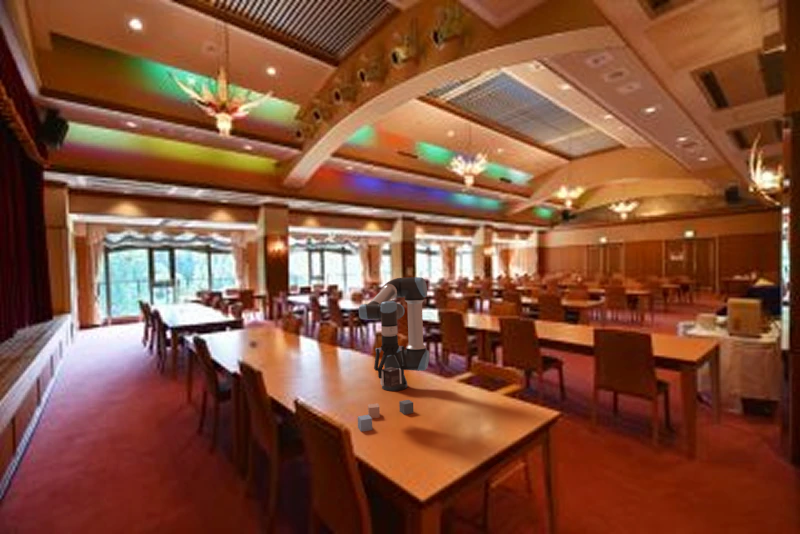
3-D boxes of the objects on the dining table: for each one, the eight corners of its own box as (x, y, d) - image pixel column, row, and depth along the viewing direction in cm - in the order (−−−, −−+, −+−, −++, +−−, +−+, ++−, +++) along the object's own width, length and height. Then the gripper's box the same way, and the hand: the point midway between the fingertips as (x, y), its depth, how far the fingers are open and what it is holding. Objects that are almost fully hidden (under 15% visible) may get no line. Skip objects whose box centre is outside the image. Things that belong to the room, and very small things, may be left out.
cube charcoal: (399, 411, 185) (399, 401, 185) (408, 409, 187) (408, 399, 188) (404, 414, 181) (404, 404, 181) (413, 412, 183) (413, 402, 183)
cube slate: (357, 427, 167) (357, 416, 167) (368, 425, 169) (368, 414, 169) (361, 432, 163) (360, 420, 163) (372, 429, 164) (371, 418, 165)
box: (391, 382, 180) (391, 366, 181) (400, 384, 176) (399, 368, 176) (381, 385, 176) (381, 369, 176) (390, 387, 172) (390, 371, 172)
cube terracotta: (368, 414, 182) (367, 404, 182) (378, 413, 183) (378, 403, 183) (369, 418, 177) (368, 407, 178) (379, 417, 178) (379, 406, 178)
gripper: (369, 337, 170) (371, 389, 169) (413, 334, 176) (414, 383, 176) (366, 335, 177) (367, 384, 177) (408, 332, 183) (409, 379, 183)
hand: (391, 384), depth 176 cm, fingers closed on box, 8 cm apart
